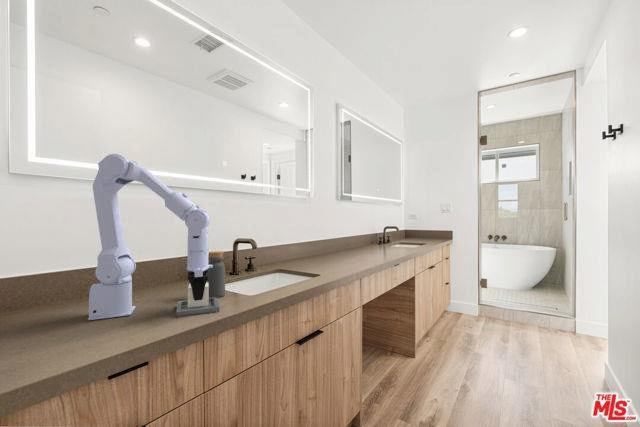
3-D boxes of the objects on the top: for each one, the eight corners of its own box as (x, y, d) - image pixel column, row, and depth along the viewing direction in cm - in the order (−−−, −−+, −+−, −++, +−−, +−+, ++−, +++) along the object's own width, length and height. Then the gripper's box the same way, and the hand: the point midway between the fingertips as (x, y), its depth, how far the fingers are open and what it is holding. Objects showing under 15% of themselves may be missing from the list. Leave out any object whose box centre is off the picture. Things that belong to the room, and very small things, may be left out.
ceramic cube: (187, 307, 81) (187, 288, 81) (188, 302, 86) (188, 283, 86) (208, 305, 83) (208, 286, 83) (208, 300, 88) (208, 282, 89)
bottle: (208, 298, 95) (208, 253, 96) (205, 294, 100) (205, 251, 101) (226, 296, 98) (226, 251, 99) (223, 292, 103) (223, 250, 104)
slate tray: (176, 317, 78) (176, 312, 78) (178, 306, 88) (178, 301, 88) (219, 311, 82) (219, 306, 82) (216, 301, 92) (216, 297, 92)
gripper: (214, 252, 80) (214, 302, 80) (211, 248, 93) (211, 290, 93) (186, 254, 77) (186, 305, 77) (187, 249, 90) (187, 292, 90)
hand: (198, 297), depth 85 cm, fingers closed on ceramic cube, 6 cm apart
